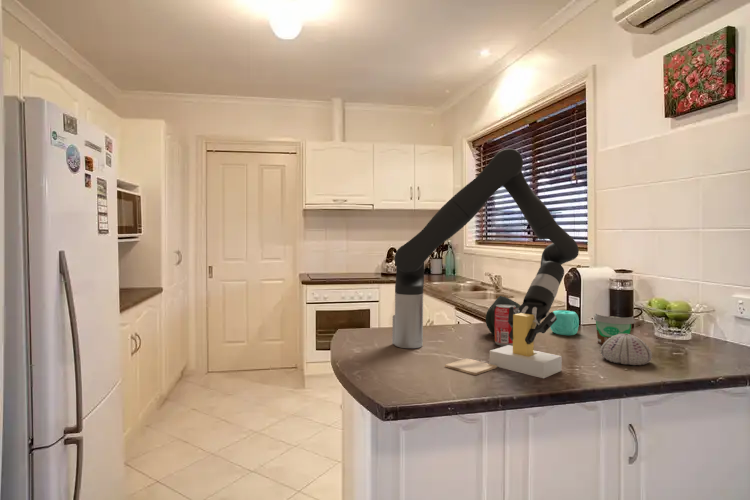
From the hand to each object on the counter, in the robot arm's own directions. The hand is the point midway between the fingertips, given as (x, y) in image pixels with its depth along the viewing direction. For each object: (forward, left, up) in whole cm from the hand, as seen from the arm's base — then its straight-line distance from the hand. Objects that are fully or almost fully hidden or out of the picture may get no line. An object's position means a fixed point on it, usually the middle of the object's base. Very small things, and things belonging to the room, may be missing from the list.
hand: (519, 340), depth 123 cm
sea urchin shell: (+16, +31, -8) cm, 36 cm away
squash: (-25, +34, -8) cm, 43 cm away
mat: (-10, -9, -8) cm, 15 cm away
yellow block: (0, +2, -7) cm, 7 cm away
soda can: (-18, +22, -8) cm, 29 cm away
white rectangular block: (0, +2, -8) cm, 8 cm away
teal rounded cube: (-13, +55, -8) cm, 57 cm away
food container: (+7, +48, -8) cm, 49 cm away
